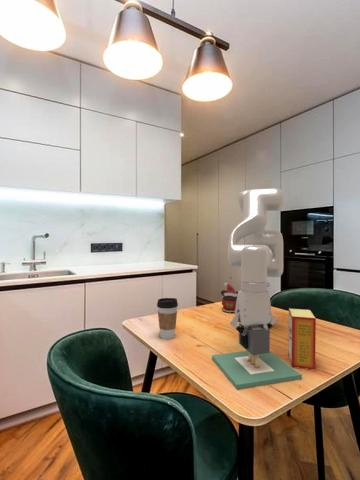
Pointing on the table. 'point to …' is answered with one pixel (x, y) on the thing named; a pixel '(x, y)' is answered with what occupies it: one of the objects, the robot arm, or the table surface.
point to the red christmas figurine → (229, 297)
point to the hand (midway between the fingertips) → (253, 345)
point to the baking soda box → (302, 338)
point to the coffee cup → (167, 317)
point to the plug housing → (257, 340)
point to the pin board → (254, 369)
